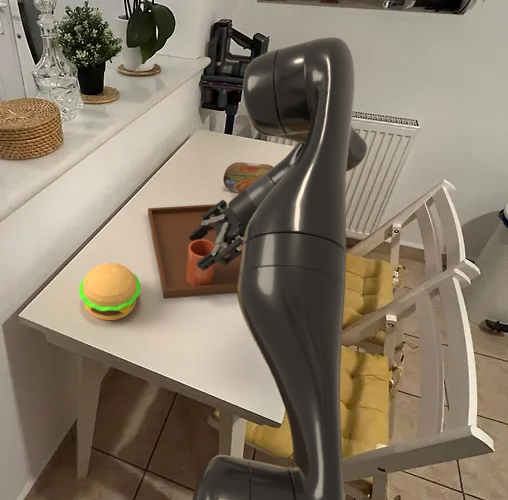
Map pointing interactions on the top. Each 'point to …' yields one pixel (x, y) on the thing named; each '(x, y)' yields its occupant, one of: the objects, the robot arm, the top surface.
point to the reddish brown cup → (196, 253)
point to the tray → (186, 252)
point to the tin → (243, 175)
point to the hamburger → (109, 291)
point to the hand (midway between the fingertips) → (195, 253)
